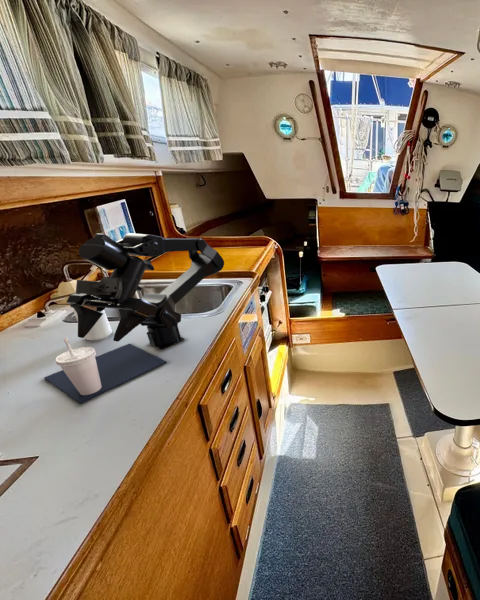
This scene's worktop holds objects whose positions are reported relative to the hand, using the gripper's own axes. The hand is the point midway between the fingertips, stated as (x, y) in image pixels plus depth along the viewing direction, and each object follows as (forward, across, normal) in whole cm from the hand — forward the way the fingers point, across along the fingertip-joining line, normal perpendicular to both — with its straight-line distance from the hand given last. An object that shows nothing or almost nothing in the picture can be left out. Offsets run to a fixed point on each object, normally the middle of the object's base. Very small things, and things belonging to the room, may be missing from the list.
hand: (97, 339), depth 75 cm
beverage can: (-3, -22, +19) cm, 29 cm away
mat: (+6, -4, +9) cm, 12 cm away
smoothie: (+11, 0, +4) cm, 12 cm away
